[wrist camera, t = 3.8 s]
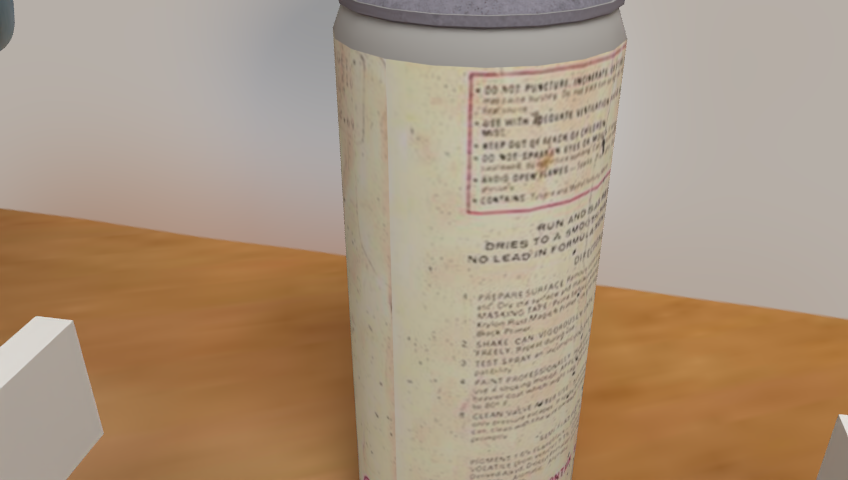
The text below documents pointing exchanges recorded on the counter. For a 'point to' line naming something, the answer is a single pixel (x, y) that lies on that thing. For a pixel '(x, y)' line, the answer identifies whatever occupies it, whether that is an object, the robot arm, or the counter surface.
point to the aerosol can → (473, 226)
